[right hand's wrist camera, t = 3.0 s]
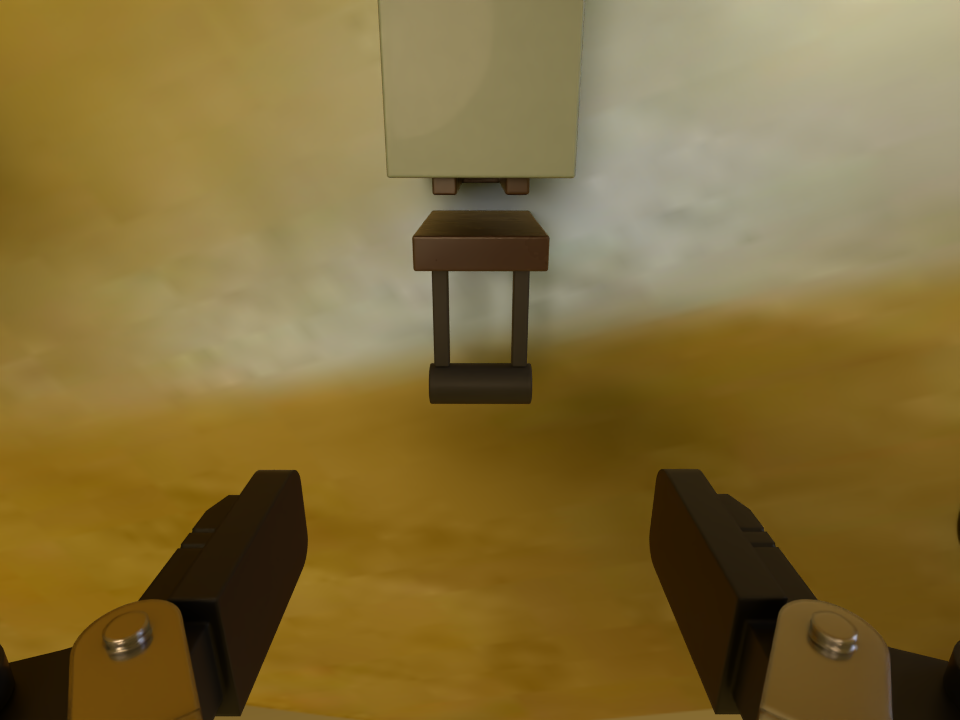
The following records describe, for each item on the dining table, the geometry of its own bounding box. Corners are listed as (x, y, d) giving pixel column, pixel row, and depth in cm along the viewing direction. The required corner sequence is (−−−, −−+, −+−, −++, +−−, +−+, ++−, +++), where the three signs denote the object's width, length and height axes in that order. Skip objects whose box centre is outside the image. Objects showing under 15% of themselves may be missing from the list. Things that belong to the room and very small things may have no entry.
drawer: (525, 352, 29) (541, 426, 22) (435, 352, 29) (419, 426, 22) (545, -322, 21) (587, -616, 13) (417, -323, 21) (377, -616, 13)
